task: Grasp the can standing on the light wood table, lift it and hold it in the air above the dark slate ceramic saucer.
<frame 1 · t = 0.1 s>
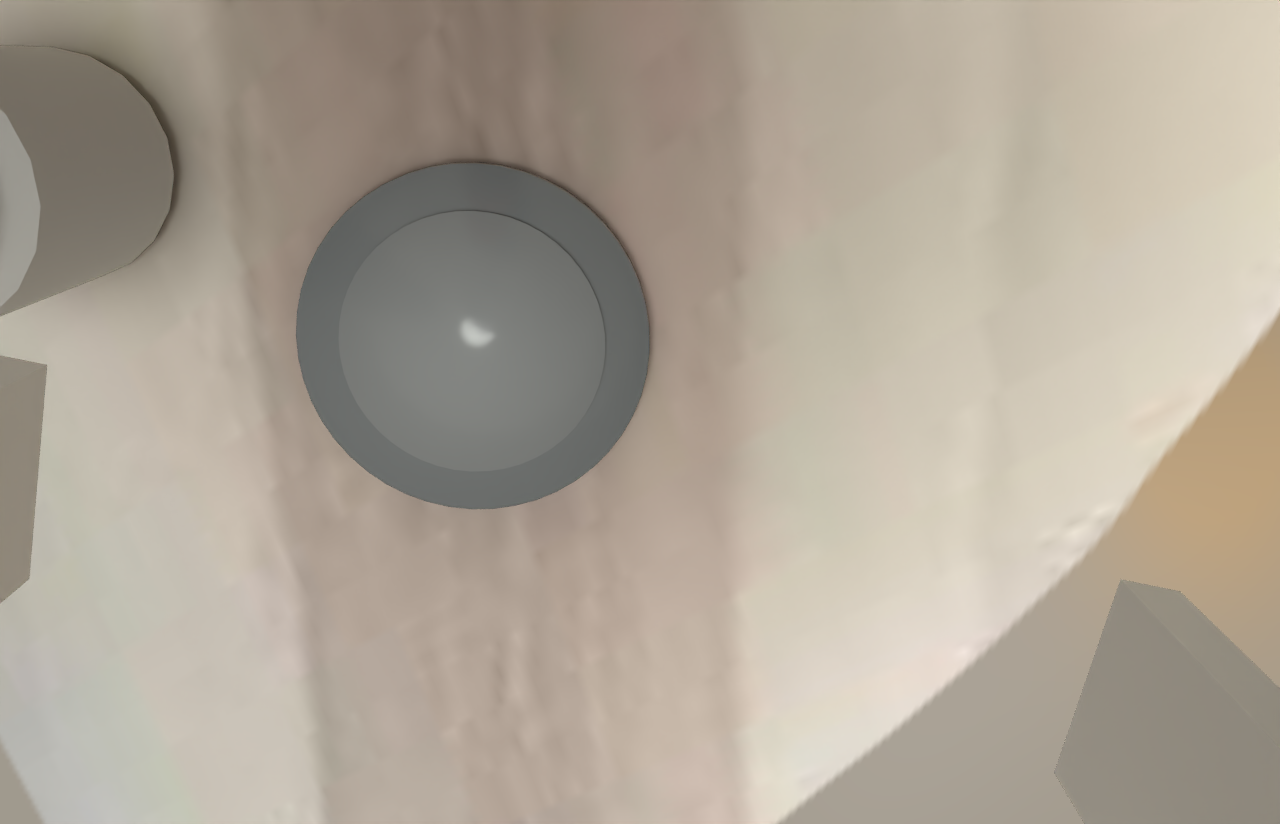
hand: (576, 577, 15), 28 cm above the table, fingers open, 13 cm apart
can: (73, 163, 41), on the table
saucer: (476, 338, 43), on the table
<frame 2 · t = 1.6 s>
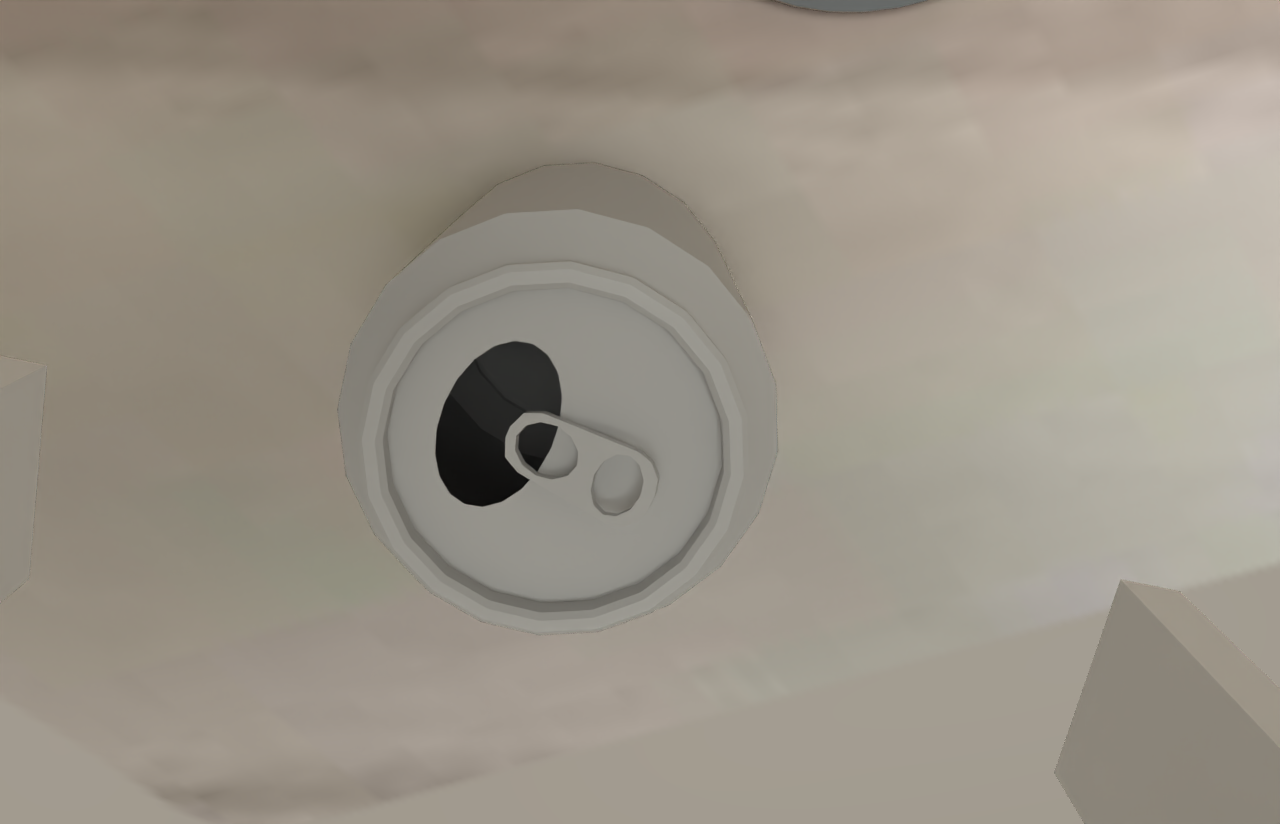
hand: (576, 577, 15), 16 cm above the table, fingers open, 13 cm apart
can: (581, 309, 31), on the table
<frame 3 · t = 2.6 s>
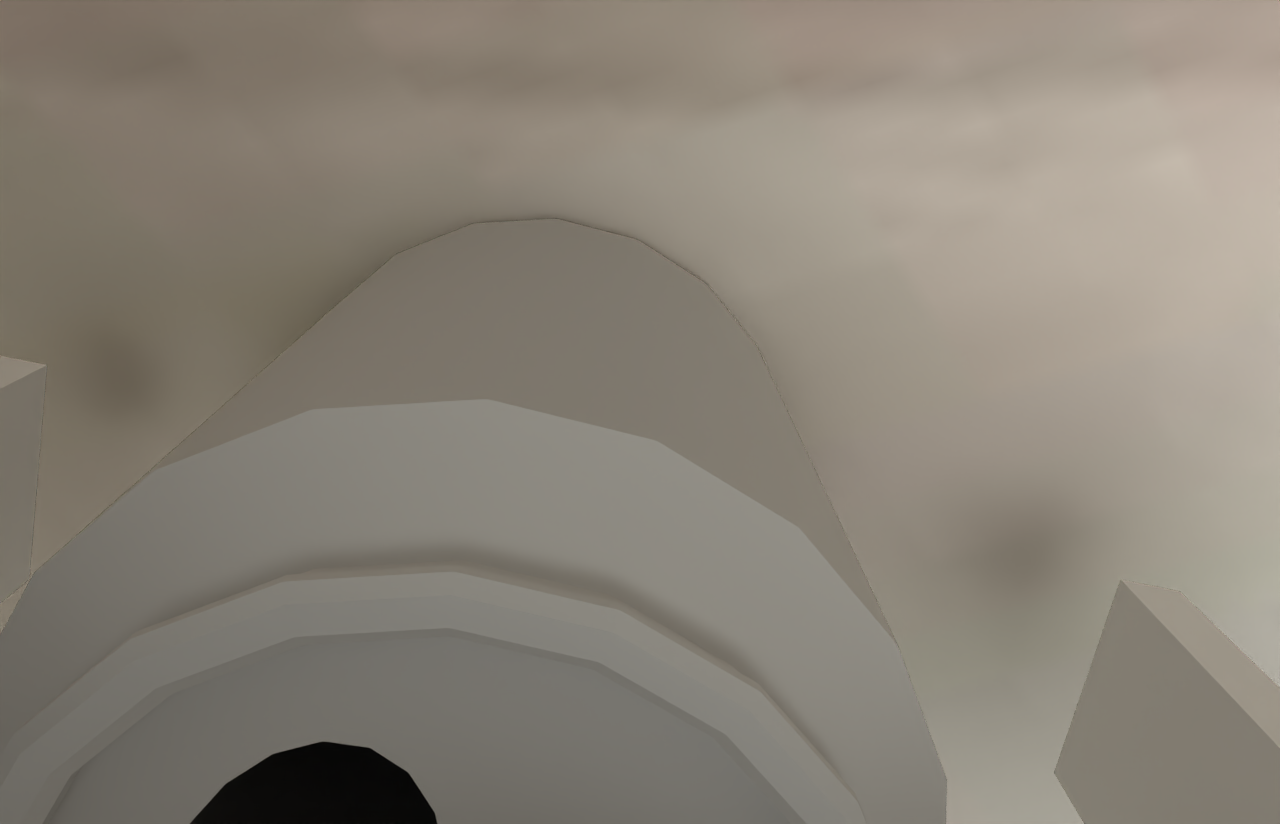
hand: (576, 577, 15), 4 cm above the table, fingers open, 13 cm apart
can: (540, 447, 19), on the table
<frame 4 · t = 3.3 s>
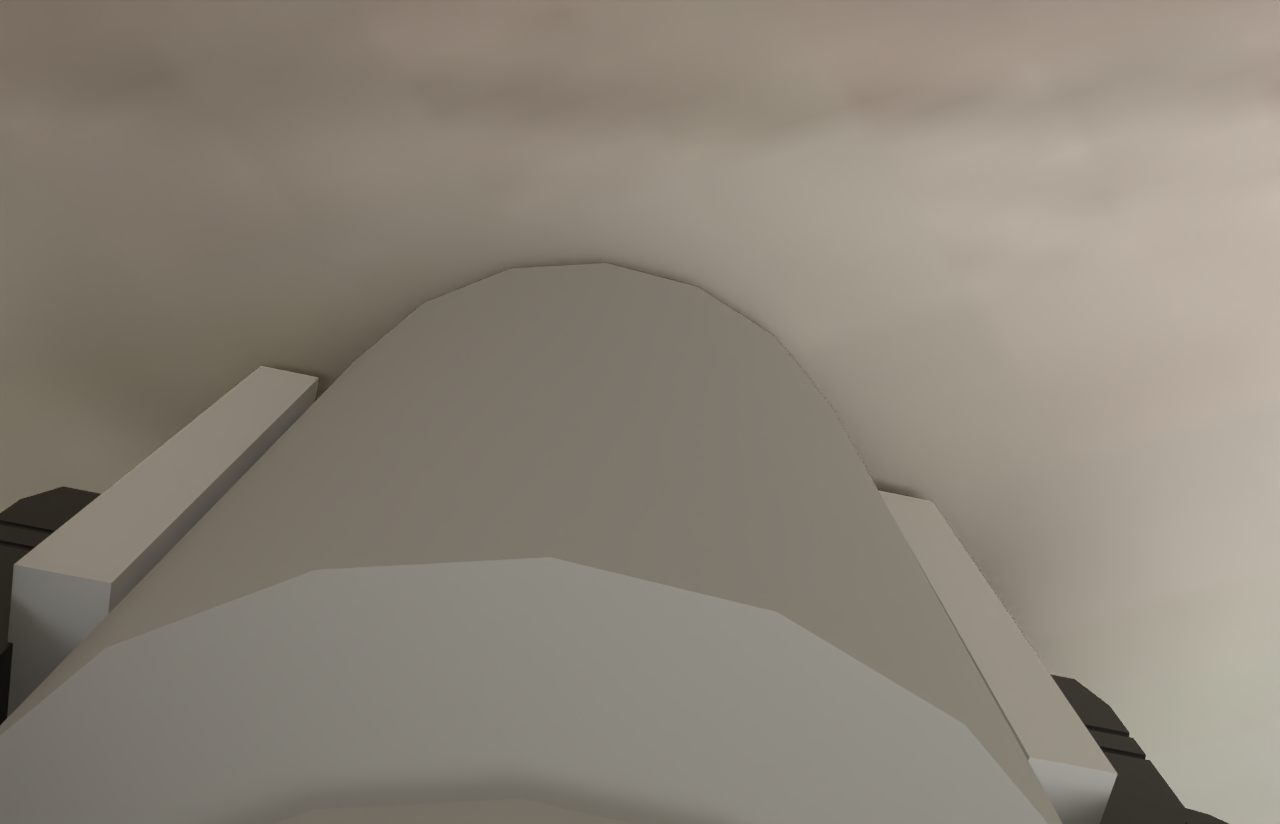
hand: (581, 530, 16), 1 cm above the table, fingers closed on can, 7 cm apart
can: (583, 515, 17), on the table, touching gripper
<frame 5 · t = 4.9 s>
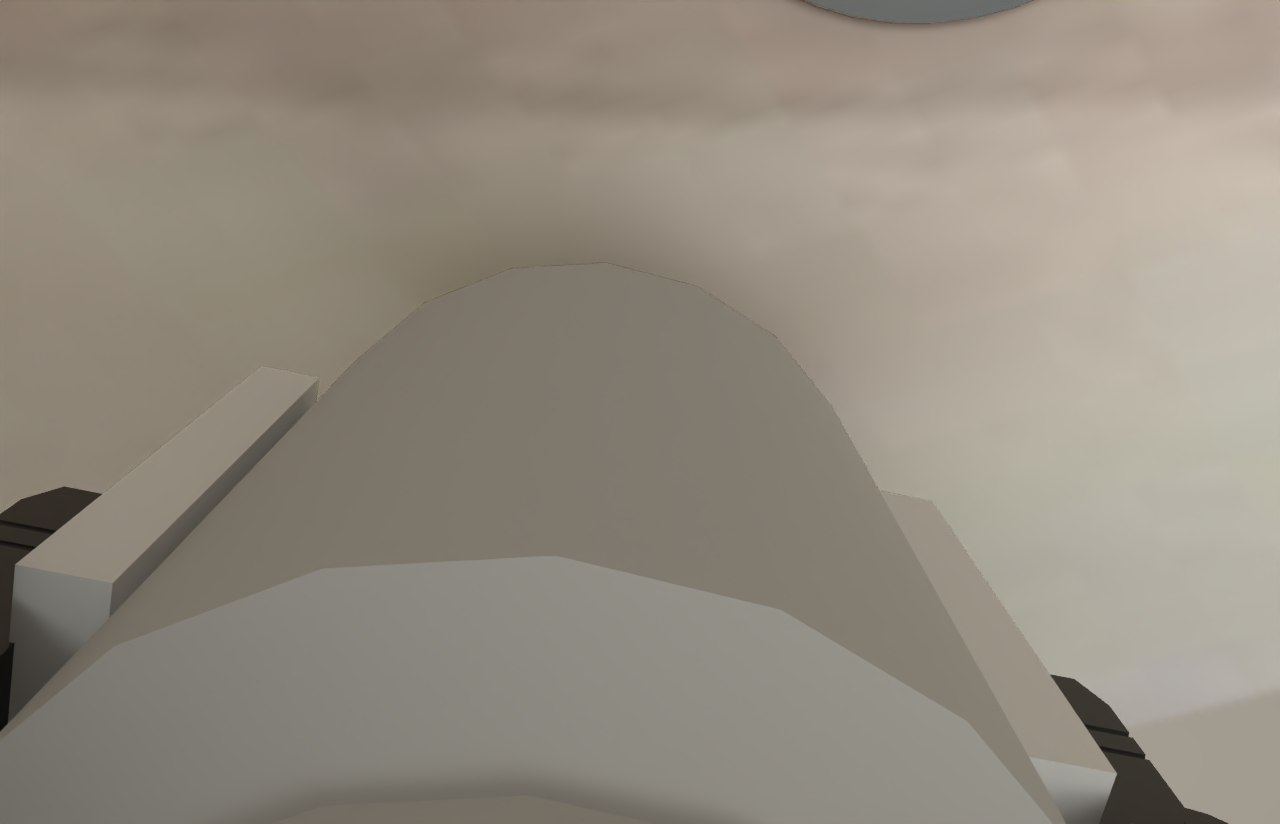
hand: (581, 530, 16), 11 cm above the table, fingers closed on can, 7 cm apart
can: (583, 515, 17), point 10 cm above the table, touching gripper
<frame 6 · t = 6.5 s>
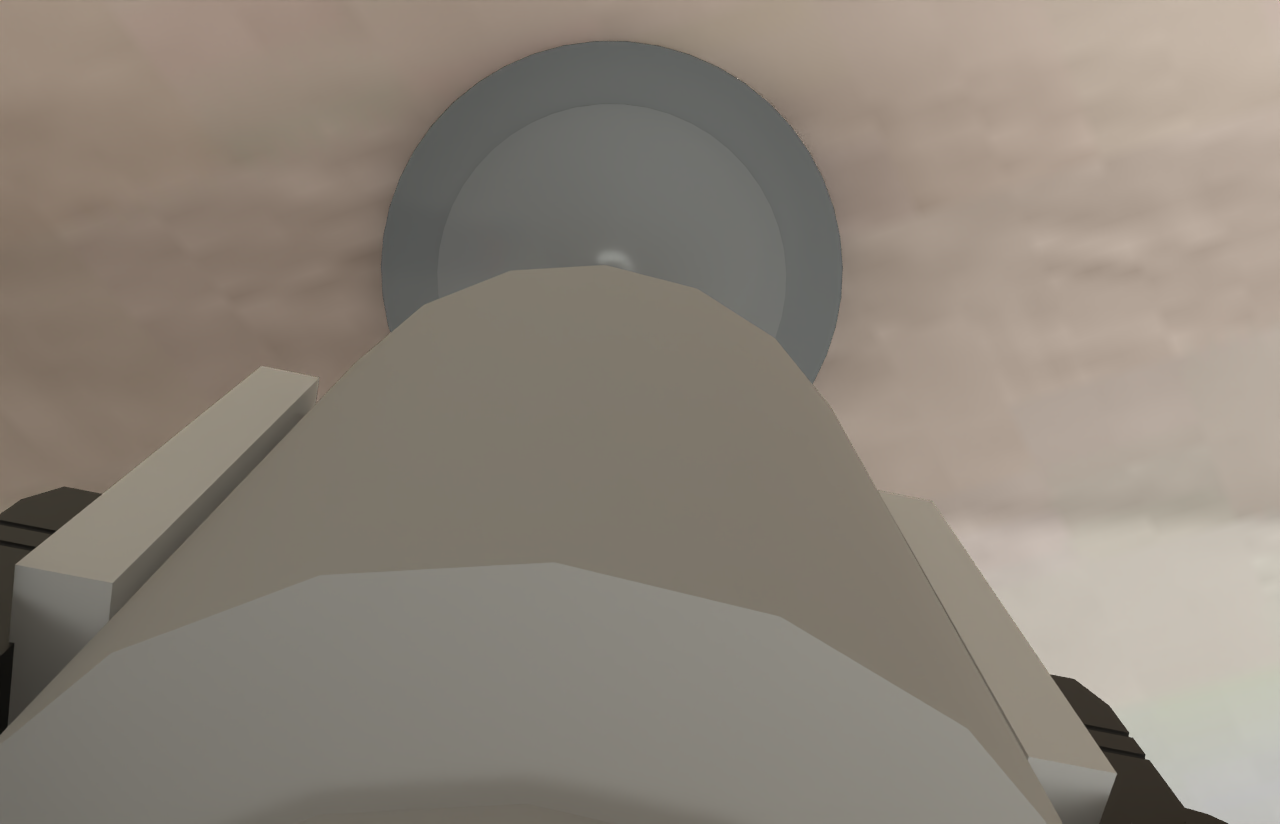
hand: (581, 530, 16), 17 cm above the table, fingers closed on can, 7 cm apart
can: (583, 517, 17), point 16 cm above the table, touching gripper
saucer: (612, 276, 33), on the table
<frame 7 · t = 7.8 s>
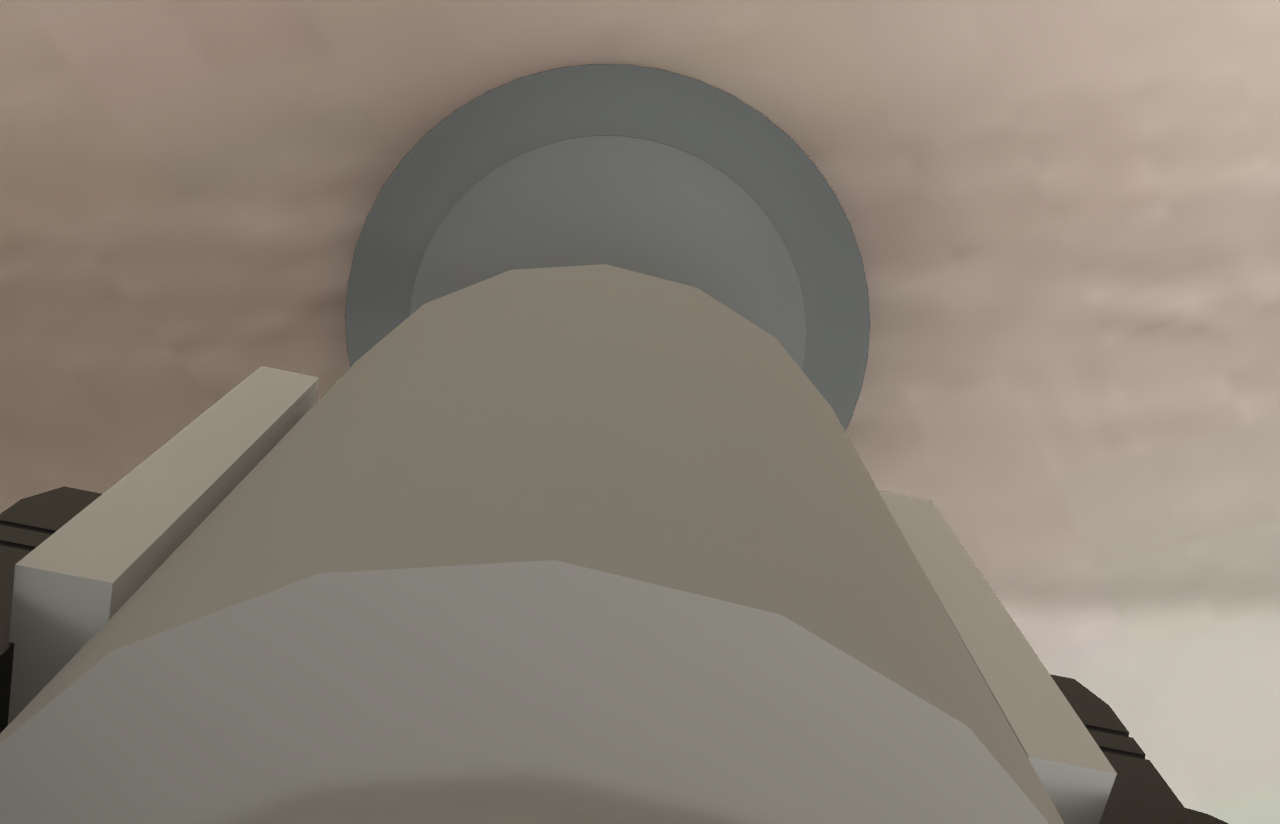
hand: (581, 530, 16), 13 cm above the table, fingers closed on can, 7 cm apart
can: (583, 516, 17), point 12 cm above the table, touching gripper
saucer: (608, 328, 29), on the table
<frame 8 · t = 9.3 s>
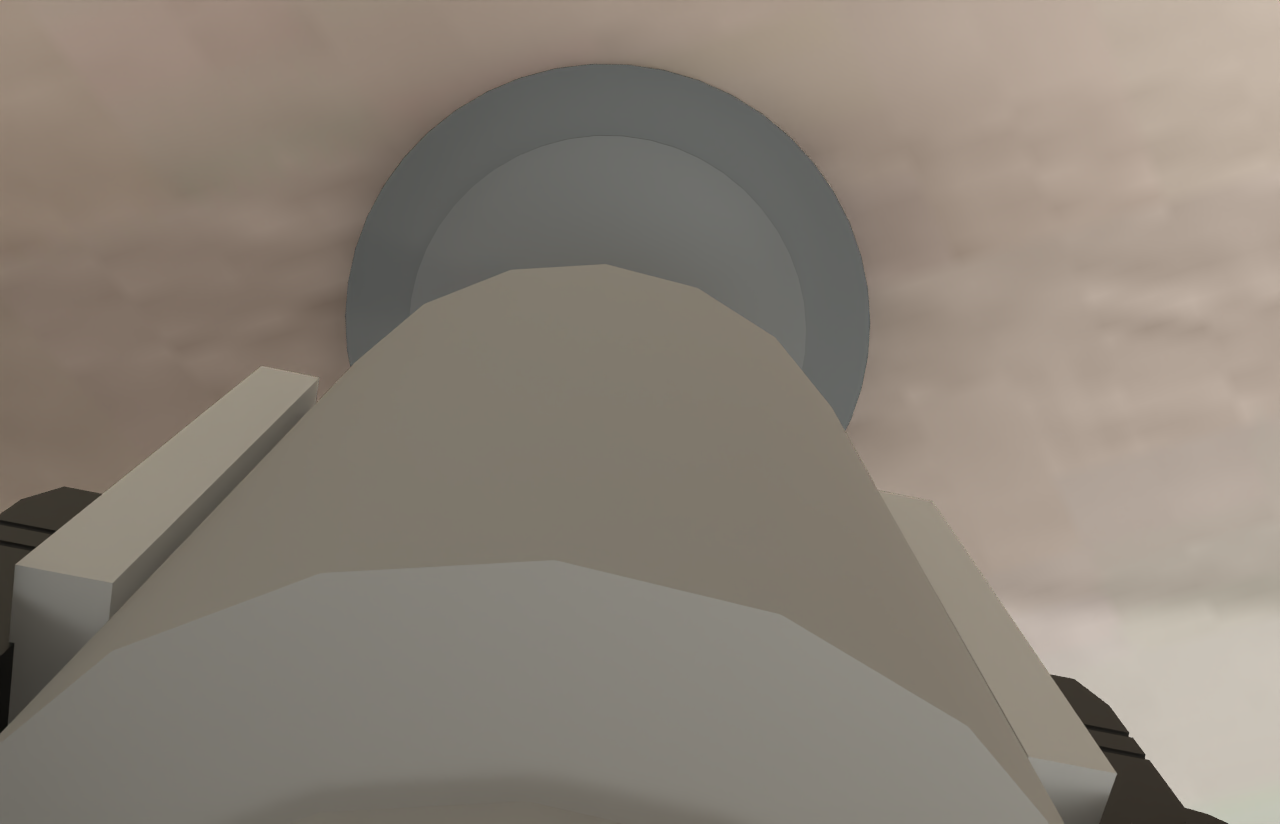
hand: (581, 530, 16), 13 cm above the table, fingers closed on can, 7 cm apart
can: (583, 516, 17), point 12 cm above the table, touching gripper
saucer: (608, 328, 29), on the table
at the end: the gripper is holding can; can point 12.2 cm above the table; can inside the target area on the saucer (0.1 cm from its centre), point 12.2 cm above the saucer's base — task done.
